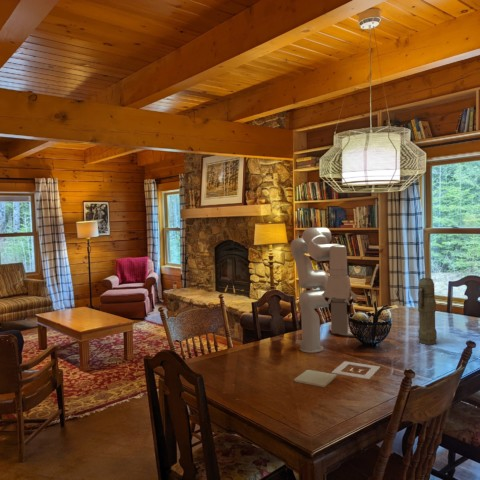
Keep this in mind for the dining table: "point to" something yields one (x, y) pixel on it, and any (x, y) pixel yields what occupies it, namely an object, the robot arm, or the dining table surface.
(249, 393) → the dining table surface
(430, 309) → the thermos
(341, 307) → the perfume bottle
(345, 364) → the frame
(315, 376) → the sage coaster
